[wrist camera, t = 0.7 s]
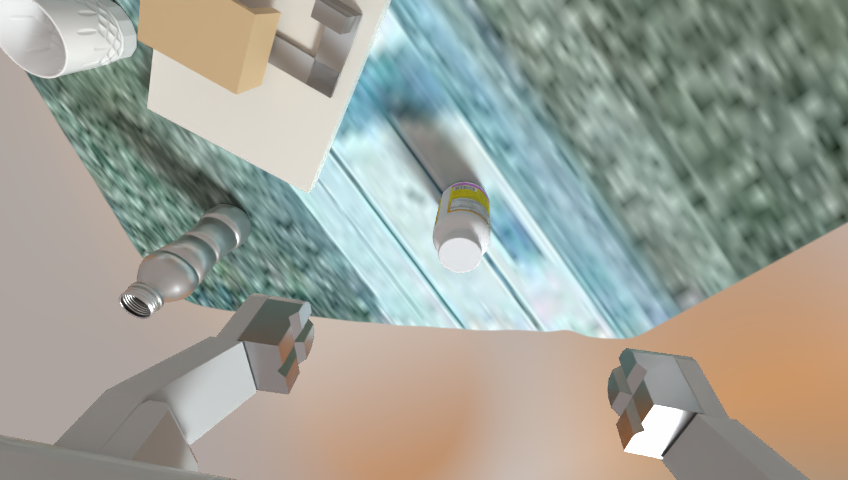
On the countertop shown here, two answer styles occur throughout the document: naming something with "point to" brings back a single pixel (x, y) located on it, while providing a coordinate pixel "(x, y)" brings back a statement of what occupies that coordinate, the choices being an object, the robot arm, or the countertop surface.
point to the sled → (320, 47)
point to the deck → (251, 78)
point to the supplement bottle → (462, 227)
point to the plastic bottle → (185, 261)
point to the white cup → (65, 35)
